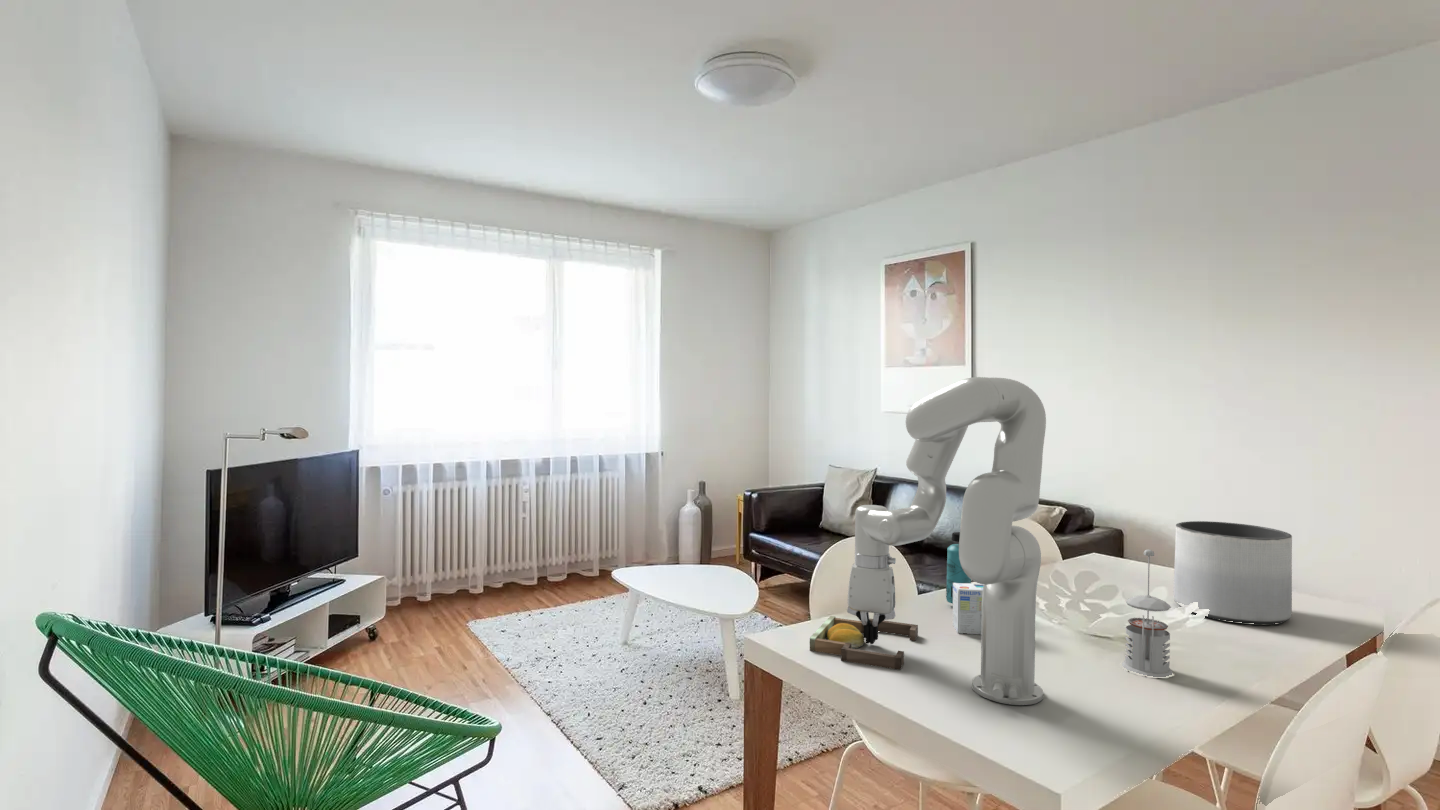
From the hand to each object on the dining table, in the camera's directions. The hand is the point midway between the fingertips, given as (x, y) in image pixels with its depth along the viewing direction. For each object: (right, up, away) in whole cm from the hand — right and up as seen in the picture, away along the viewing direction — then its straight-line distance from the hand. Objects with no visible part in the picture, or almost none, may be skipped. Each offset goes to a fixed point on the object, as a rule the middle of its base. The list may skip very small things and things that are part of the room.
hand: (870, 641), depth 160 cm
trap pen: (-1, -1, +1) cm, 2 cm away
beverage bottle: (+30, -1, +30) cm, 43 cm away
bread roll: (-5, -1, +2) cm, 6 cm away
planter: (+101, -2, +28) cm, 105 cm away
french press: (+54, -2, -13) cm, 56 cm away
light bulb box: (+28, -1, +12) cm, 30 cm away
